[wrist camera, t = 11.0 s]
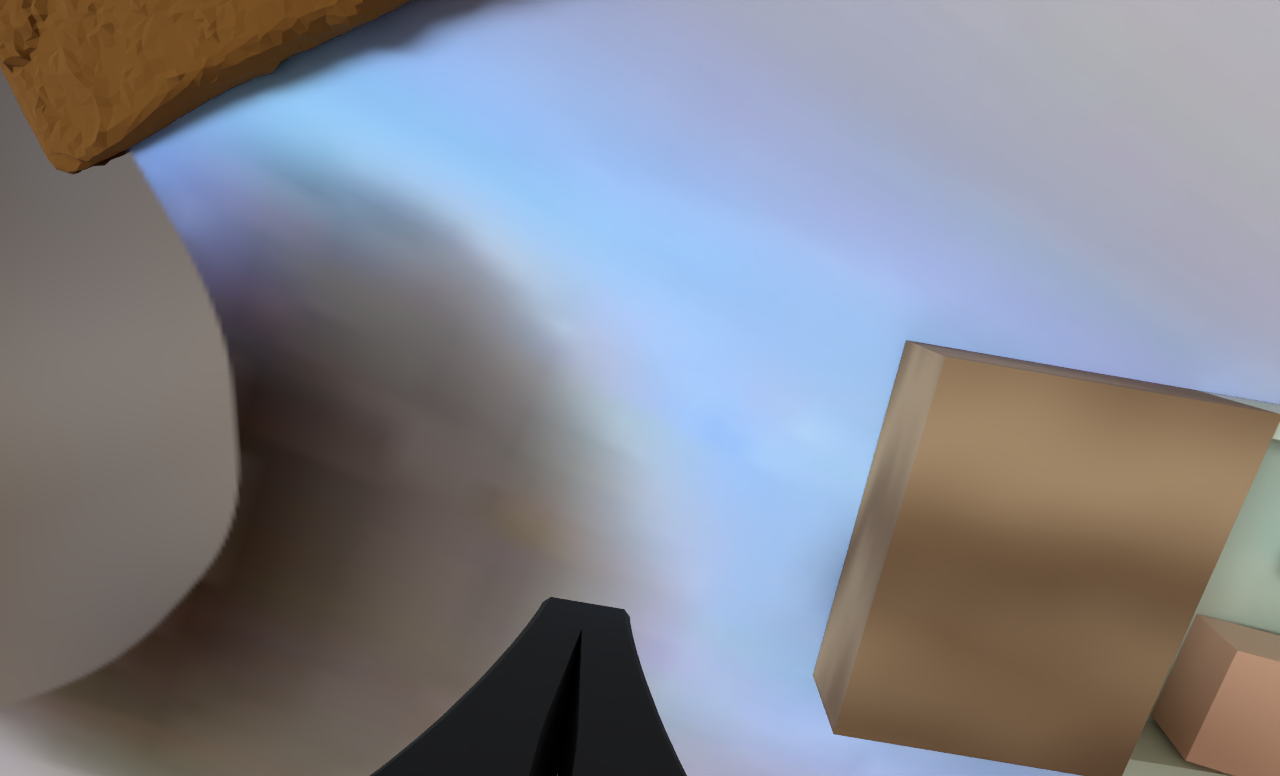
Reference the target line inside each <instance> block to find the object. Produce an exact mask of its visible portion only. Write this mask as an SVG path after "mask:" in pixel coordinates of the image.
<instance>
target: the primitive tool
mask: <svg viewBox="0 0 1280 776" xmlns="http://www.w3.org/2000/svg"><path fill="white" fill-rule="evenodd" d="M409 1H411V0H0V68H1V70H2V72H3V74H4V76H5V77H6V79H7V81H8V83H9V85H10V87H11V89H12V91H13V93H14V95H15V97H16V99H17V101H18V103H19V105H20V107H21V109H22V111H23V114H24V116H25V117H26V119H27V121H28V123H29V125H30V127H31V128H32V130H33V132H34V134H35V135H36V137H37V139H38V141H39V143H40V145H41V147H42V149H43V151H44V153H45V155H46V156H47V158H48V160H49V161H50V162H51V163H52V165H53V166H54V167H55V168H56V169H57V170H60V171H64V172H67V173H70V174H76V173H79V172H81V171H82V170H85V169H88V168H90V167H93V166H104V165H106V164H107V163H108V162H109V161H110V160H112V159H115V158H118V157H120V156H123V155H125V154H127V153H129V152H130V150H129V149H128V148H130V147H132V146H134V145H135V144H137V143H139V142H141V141H142V140H144V139H146V138H147V137H149V136H151V135H152V134H154V133H156V132H158V131H159V130H161V129H163V128H165V127H166V126H168V125H169V124H171V123H172V122H174V121H175V120H176V119H178V118H179V117H181V116H183V115H185V114H187V113H189V112H190V111H192V110H194V109H195V108H197V107H199V106H201V105H202V104H204V103H205V102H207V101H208V100H210V99H212V98H214V97H216V96H218V95H220V94H222V93H223V92H225V91H227V90H228V89H230V88H233V87H235V86H237V85H240V84H242V83H245V82H247V81H249V80H251V79H253V78H255V77H258V76H262V75H266V74H270V73H273V71H274V69H276V68H277V66H278V65H279V63H281V62H283V61H285V60H287V59H288V58H290V57H291V56H293V55H295V54H298V53H300V52H303V51H306V50H309V49H312V48H314V47H316V46H319V45H321V44H323V43H324V42H326V41H328V40H330V39H332V38H334V37H337V36H340V35H343V34H345V33H348V32H349V31H351V30H352V29H354V28H355V27H358V26H360V25H363V24H365V23H367V22H370V21H372V20H376V18H377V17H379V16H381V15H383V14H386V13H389V12H391V11H394V10H396V9H397V8H399V7H400V6H402V5H403V4H405V3H407V2H409Z"/></svg>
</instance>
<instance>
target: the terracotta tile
mask: <svg viewBox="0 0 1280 776" xmlns="http://www.w3.org/2000/svg"><path fill="white" fill-rule="evenodd" d="M1152 717H1153V718H1154V719H1155V721H1156V722H1157V723H1158V725H1159V726H1160V727H1161V729H1162V730H1163V731H1164V733H1165V734H1166V735H1167V737H1168V738H1169V739H1170V741H1171V742H1172V743H1173V745H1174V746H1175V747H1176V749H1177V750H1178V751H1179V753H1180V754H1181V755H1182V757H1183V758H1184V759H1185V760H1186V761H1189V762H1192V763H1195V764H1198V765H1202V766H1205V767H1208V768H1211V769H1215V770H1218V771H1221V772H1224V773H1227V774H1231V775H1234V776H1280V635H1276V634H1272V633H1269V632H1265V631H1261V630H1257V629H1253V628H1250V627H1246V626H1242V625H1238V624H1234V623H1231V622H1227V621H1223V620H1219V619H1215V618H1212V617H1208V616H1204V615H1200V614H1196V617H1195V619H1194V621H1193V623H1192V626H1191V628H1190V630H1189V632H1188V635H1187V637H1186V639H1185V641H1184V643H1183V646H1182V648H1181V650H1180V652H1179V655H1178V657H1177V659H1176V661H1175V664H1174V666H1173V668H1172V670H1171V673H1170V675H1169V677H1168V679H1167V682H1166V684H1165V686H1164V688H1163V691H1162V693H1161V695H1160V697H1159V700H1158V702H1157V704H1156V706H1155V708H1154V711H1153V713H1152Z"/></svg>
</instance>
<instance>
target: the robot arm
mask: <svg viewBox="0 0 1280 776" xmlns="http://www.w3.org/2000/svg"><path fill="white" fill-rule="evenodd" d="M557 774H558V776H687V775H686V773H685V771H684V769H683V767H682V765H681V763H680V761H679V759H678V757H677V755H676V752H675V750H674V748H673V746H672V744H671V741H670V739H669V737H668V735H667V733H666V730H665V728H664V726H663V723H662V721H661V719H660V716H659V714H658V711H657V709H656V706H655V703H654V701H653V698H652V695H651V693H650V690H649V687H648V685H647V682H646V679H645V676H644V673H643V670H642V667H641V664H640V661H639V657H638V654H637V651H636V647H635V643H634V639H633V635H632V630H631V624H630V617H629V615H628V614H627V612H626V611H625V610H624V609H619V608H613V607H607V606H601V605H595V604H589V603H583V602H577V601H571V600H565V599H559V598H553V597H550V598H549V599H547V600H545V601H544V602H543V603H542V604H541V606H540V608H539V609H538V611H537V612H536V614H535V615H534V616H533V618H532V619H531V621H530V622H529V623H528V625H527V626H526V627H525V628H524V630H523V631H522V632H521V633H520V635H519V636H518V637H517V638H516V639H515V641H514V642H513V643H512V644H511V646H510V647H509V648H508V649H507V650H506V651H505V652H504V653H503V654H502V656H501V657H500V658H499V659H498V660H497V661H496V662H495V663H494V664H493V666H492V667H491V668H490V669H489V670H488V671H487V672H486V673H485V674H484V675H483V676H482V678H481V679H480V680H479V681H478V682H477V683H476V684H475V685H474V686H473V687H472V688H470V689H469V690H468V691H467V692H466V693H465V694H464V695H463V696H462V697H461V698H460V699H459V700H458V701H457V702H456V703H455V704H454V705H453V706H452V707H451V708H450V709H449V710H448V711H447V712H446V713H445V714H444V715H443V716H442V717H440V718H439V719H438V720H437V721H436V722H435V723H434V724H433V725H431V726H430V727H429V728H428V729H427V730H426V731H425V732H424V733H422V734H421V735H420V736H419V737H418V738H417V739H415V740H414V741H413V742H412V743H411V744H409V745H408V746H407V747H406V748H405V749H403V750H402V751H401V752H400V753H398V754H397V755H396V756H395V757H394V758H392V759H391V760H390V761H389V762H387V763H386V764H385V765H383V766H382V767H381V768H380V769H378V770H377V771H375V772H374V773H373V774H371V775H370V776H557Z"/></svg>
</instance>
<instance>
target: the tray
mask: <svg viewBox="0 0 1280 776" xmlns="http://www.w3.org/2000/svg"><path fill="white" fill-rule="evenodd" d="M1201 392H1203V391H1201ZM1205 393H1208V394H1212V395H1215V396H1219V397H1222V398H1226V399H1229V400H1233V401H1236V402H1240V403H1243V404H1247V405H1250V406H1254V407H1257V408H1261V409H1264V410H1268V411H1271V412H1275V413H1278V414H1280V405H1279V404H1273V403H1267V402H1261V401H1255V400H1250V399H1244V398H1238V397H1232V396H1226V395H1221V394H1215V393H1209V392H1205ZM1196 614H1200V615H1204V616H1208V617H1212V618H1215V619H1219V620H1223V621H1227V622H1231V623H1234V624H1238V625H1242V626H1246V627H1250V628H1253V629H1257V630H1261V631H1265V632H1269V633H1272V634H1276V635H1280V422H1279V424H1278V427H1277V429H1276V431H1275V433H1274V436H1273V438H1272V440H1271V442H1270V445H1269V447H1268V449H1267V451H1266V454H1265V456H1264V458H1263V460H1262V463H1261V465H1260V467H1259V469H1258V472H1257V474H1256V476H1255V478H1254V481H1253V483H1252V485H1251V487H1250V490H1249V492H1248V494H1247V496H1246V498H1245V501H1244V503H1243V505H1242V507H1241V510H1240V512H1239V514H1238V516H1237V519H1236V521H1235V523H1234V525H1233V528H1232V530H1231V532H1230V534H1229V537H1228V539H1227V541H1226V543H1225V546H1224V548H1223V550H1222V552H1221V555H1220V557H1219V559H1218V561H1217V564H1216V566H1215V568H1214V570H1213V573H1212V575H1211V577H1210V579H1209V582H1208V584H1207V586H1206V588H1205V591H1204V593H1203V595H1202V597H1201V600H1200V602H1199V604H1198V606H1197V609H1196V611H1195V613H1194V615H1193V618H1192V620H1191V622H1190V624H1189V627H1188V629H1187V631H1186V633H1185V636H1184V638H1183V640H1182V642H1181V645H1180V647H1179V649H1178V651H1177V654H1176V656H1175V658H1174V660H1173V663H1172V665H1171V667H1170V669H1169V672H1168V674H1167V676H1166V678H1165V681H1164V683H1163V685H1162V687H1161V690H1160V692H1159V694H1158V696H1157V699H1156V701H1155V703H1154V705H1153V708H1152V710H1151V712H1150V714H1149V717H1148V719H1147V721H1146V723H1145V726H1144V728H1143V730H1142V732H1141V735H1140V737H1139V739H1138V741H1137V744H1136V746H1135V748H1134V750H1133V752H1132V755H1131V757H1130V759H1129V761H1128V764H1127V766H1126V768H1125V770H1124V773H1123V775H1122V776H1234V775H1231V774H1227V773H1224V772H1221V771H1218V770H1215V769H1211V768H1208V767H1205V766H1202V765H1198V764H1195V763H1192V762H1189V761H1186V760H1185V759H1184V758H1183V757H1182V755H1181V754H1180V753H1179V751H1178V750H1177V749H1176V747H1175V746H1174V745H1173V743H1172V742H1171V741H1170V739H1169V738H1168V737H1167V735H1166V734H1165V733H1164V731H1163V730H1162V729H1161V727H1160V726H1159V725H1158V723H1157V722H1156V721H1155V719H1154V718H1153V717H1152V713H1153V711H1154V708H1155V706H1156V704H1157V702H1158V700H1159V697H1160V695H1161V693H1162V691H1163V688H1164V686H1165V684H1166V682H1167V679H1168V677H1169V675H1170V673H1171V670H1172V668H1173V666H1174V664H1175V661H1176V659H1177V657H1178V655H1179V652H1180V650H1181V648H1182V646H1183V643H1184V641H1185V639H1186V637H1187V635H1188V632H1189V630H1190V628H1191V626H1192V623H1193V621H1194V619H1195V617H1196Z"/></svg>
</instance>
